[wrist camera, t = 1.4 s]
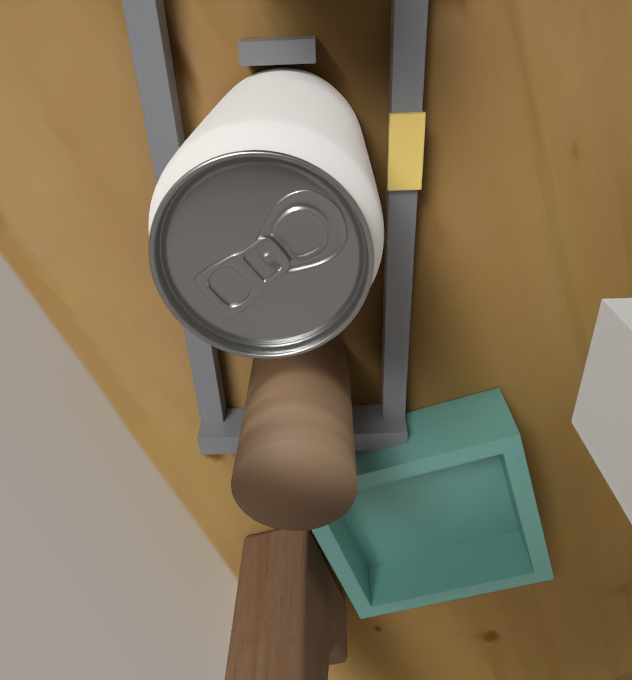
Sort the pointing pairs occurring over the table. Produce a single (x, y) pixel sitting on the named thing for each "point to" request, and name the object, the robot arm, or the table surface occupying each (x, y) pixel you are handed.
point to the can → (268, 219)
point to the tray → (440, 512)
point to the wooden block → (285, 611)
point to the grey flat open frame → (401, 203)
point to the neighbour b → (297, 441)
